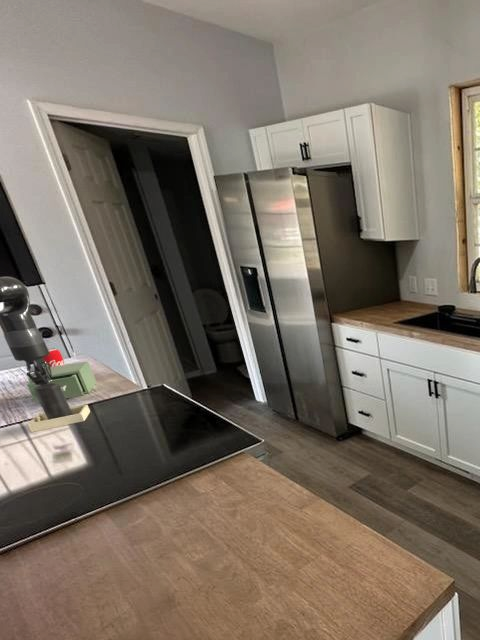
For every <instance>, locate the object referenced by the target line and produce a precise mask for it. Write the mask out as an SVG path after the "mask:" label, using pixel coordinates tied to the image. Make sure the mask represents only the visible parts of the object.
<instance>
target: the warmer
mask: <svg viewBox="0 0 480 640" xmlns="http://www.w3.org/2000/svg"><path fill="white" fill-rule="evenodd" d="M50 368H51V373H52V377H56V376H63V375H69V374H75V373H77V374H78V376H79V378H80V380H81V383H82V385H83V387H84V390H83V391H82V392H83V395H86V394H90V393H91V391H92V390H93V388H94V387H95V386H96V385H97V383H96V382H97V380H96V377H95V375H94V372H93V370H92V368H91V365H90V364H89V361H87V360H86V361H81V362H75V363H68V364H66V365H60V366H54V367H50ZM27 380H28V382H29V384H30V383H33V381H32V380H31V379H30V378H29V377H28V378H27ZM94 385H95V386H94Z"/></svg>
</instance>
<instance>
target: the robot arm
mask: <svg viewBox="0 0 480 640" xmlns="http://www.w3.org/2000/svg"><path fill="white" fill-rule="evenodd" d="M30 301H31V300H30V293H29V291H28V287H27V286H26V285H25V284H24V283H23V282H22V281H21V280H20V279H18V278H15V277H13V276H0V304H1V303H2V304H3V305H2V306H3V308H2V309H1V310H0V329H1V331H2V334H3V338H4V340H5V342H6V343H7V346H8V348H9V350H10V353H11V355H12V357H13V358H14V360H15V361H18V362H22V361H23V362H25V369H26V370H27V372H26V376H27V377H28V378H30V379H31V380H32V381H33V382H34V383H35V384H36V385H44V384H50V382H52V380H51V379H52V373H51V368H50V364H49V363H47V362H46V361H45V360H44V359H43V357H46V356H48V355H49V354H50V353H49V351H48V349H49V348H48V346H47V344H46V342H45V340H44V338H43V336H42V334H41V331H40V330H39V328H38V327H37V324H36V323H35V320H34V318H33V316H32V314H31V302H30Z"/></svg>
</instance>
